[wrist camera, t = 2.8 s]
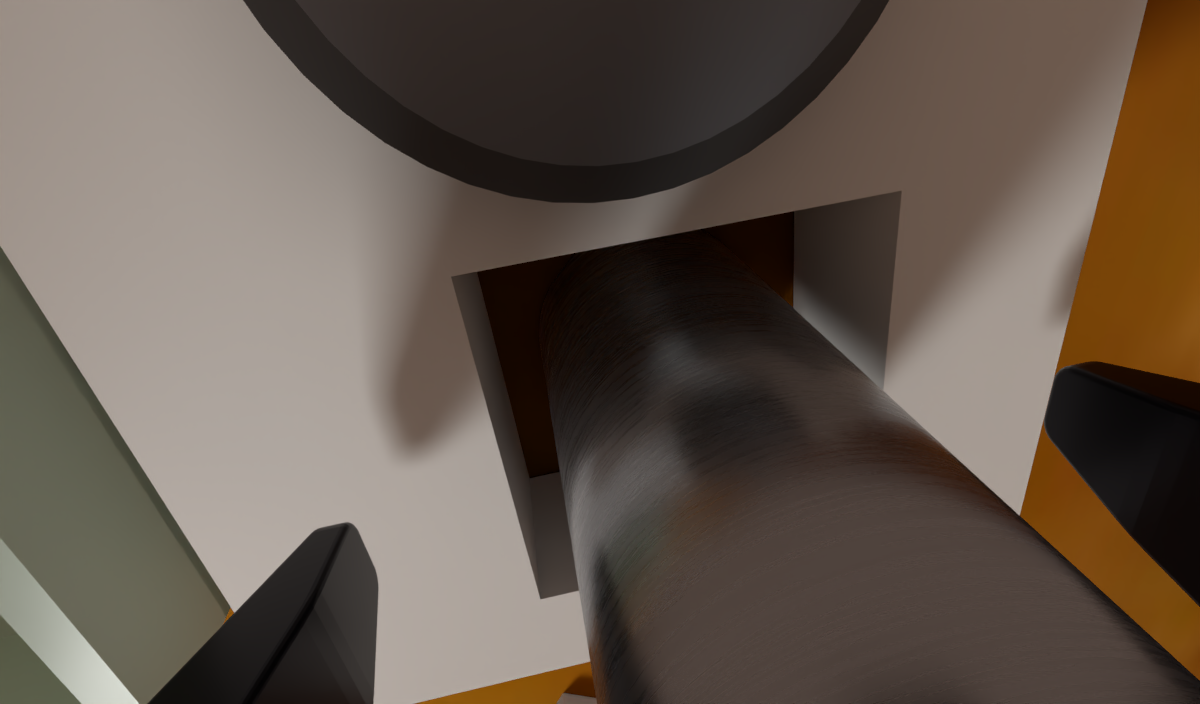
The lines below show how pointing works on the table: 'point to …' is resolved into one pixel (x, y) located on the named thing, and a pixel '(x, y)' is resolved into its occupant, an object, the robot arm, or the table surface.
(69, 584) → the tray
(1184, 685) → the pin
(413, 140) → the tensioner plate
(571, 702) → the external hard drive
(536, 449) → the table surface
